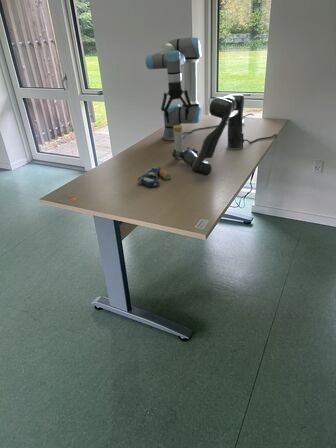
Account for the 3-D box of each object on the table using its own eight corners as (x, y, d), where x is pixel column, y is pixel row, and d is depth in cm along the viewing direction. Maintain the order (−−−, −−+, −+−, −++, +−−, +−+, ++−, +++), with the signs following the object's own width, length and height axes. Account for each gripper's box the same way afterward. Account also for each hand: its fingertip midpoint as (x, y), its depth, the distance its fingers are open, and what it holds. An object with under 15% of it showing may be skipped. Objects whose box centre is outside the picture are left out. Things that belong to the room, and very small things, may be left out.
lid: (179, 131, 199) (179, 127, 198) (171, 131, 202) (171, 127, 200) (183, 129, 203) (183, 125, 202) (176, 128, 205) (176, 124, 204)
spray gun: (175, 173, 189) (152, 171, 196) (175, 166, 187) (151, 164, 193) (159, 190, 174) (134, 186, 180) (158, 182, 172) (133, 179, 178)
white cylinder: (181, 159, 209) (179, 128, 198) (174, 158, 211) (172, 127, 201) (184, 157, 212) (183, 126, 202) (178, 156, 214) (176, 125, 204)
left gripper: (192, 78, 193) (194, 117, 204) (153, 83, 190) (157, 122, 201) (196, 80, 186) (197, 120, 198) (155, 85, 183) (159, 125, 195)
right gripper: (202, 149, 191) (191, 142, 204) (178, 154, 188) (169, 146, 201) (202, 162, 195) (192, 153, 208) (179, 166, 192) (170, 157, 205)
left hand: (177, 121), depth 200 cm, fingers open, 11 cm apart
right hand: (181, 149), depth 205 cm, fingers open, 8 cm apart
